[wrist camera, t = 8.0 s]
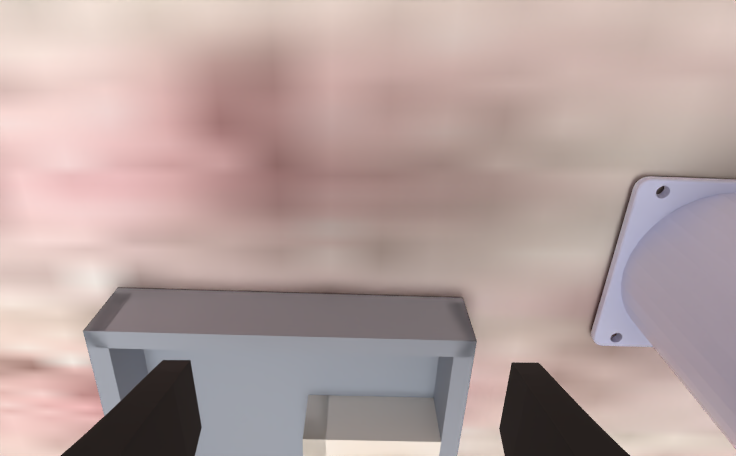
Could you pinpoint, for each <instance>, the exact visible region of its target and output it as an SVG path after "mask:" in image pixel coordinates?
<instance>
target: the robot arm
mask: <svg viewBox="0 0 736 456" xmlns="http://www.w3.org/2000/svg"><path fill="white" fill-rule="evenodd" d="M661 186H664V190H663V191H662V192H661V193H660V194H657V195H656V191H657V190H658V188H660V187H661ZM615 333H617V335H615V336H613V337H611V336H612V335H613V334H615ZM591 337H592V339H593V340H594V342H595V343H596V344H598V345H601V346H634V347H654V348H655V350H656V351H657V352H658V353H659V355H660V356H661V357H662V358H663V359H664V361H665V362H666V363H667V364H668V366H669V367H670V368H671V369H672V371H673V372H674V373H675V374H676V376H677V377H678V378H679V379H680V381H681V382H682V383H683V384H684V386H685V387H686V388H687V389H688V390H689V392H690V393H691V394H692V395H693V397H694V398H695V399H696V400H697V402H698V403H699V404H700V405H701V407H702V408H703V409H704V410H705V412H706V413H707V414H708V415H709V417H710V418H711V419H712V420H713V421H714V423H715V424H716V425H717V426H718V428H719V429H720V430H721V431H722V433H723V434H724V435H725V436H726V438H727V439H728V440H729V441H730V443H731V444H732V445H733V446H734V448H735V449H736V179H708V178H680V177H653V176H648V177H643V178H641V179H640V180H638V181H637V182H636V183H635V185H634V187H633V190H632V194H631V197H630V200H629V204H628V207H627V211H626V214H625V218H624V221H623V224H622V228H621V231H620V235H619V238H618V242H617V245H616V249H615V252H614V255H613V259H612V262H611V266H610V269H609V273H608V276H607V279H606V283H605V286H604V290H603V293H602V297H601V300H600V303H599V307H598V310H597V314H596V317H595V321H594V324H593V327H592V331H591ZM201 428H202V426H201V420H200V414H199V408H198V402H197V396H196V390H195V384H194V378H193V372H192V366H191V360H162V361H161V362H160V363H159V364H158V365H157V366H156V367H155V368H154V369H153V370H152V371H151V372H150V373H149V374H148V375H147V376H146V377H145V378H143V379H142V380H141V381H140V382H139V383H138V384H137V385H136V386H135V387H134V388H133V389H132V390H131V391H130V392H129V393H128V394H127V395H126V396H125V397H124V398H123V399H122V400H121V401H120V402H119V403H118V404H117V405H116V406H115V407H114V408H113V409H112V410H110V411H109V412H108V413H107V414H106V415H105V416H104V417H103V418H102V419H101V420H100V421H99V422H98V423H97V424H96V425H94V426H93V427H92V428H91V429H90V430H89V431H88V432H87V433H86V434H85V435H84V436H83V437H81V438H80V439H79V440H78V441H77V442H76V443H75V444H74V445H72V446H71V447H70V448H69V449H68V450H67V451H65V452H64V453H63V454H62V455H61V456H195V453H196V449H197V445H198V441H199V437H200V433H201ZM499 429H500V434H501V439H502V444H503V449H504V454H505V456H630V455H629V454H628V453H627V452H626V451H625V450H623V449H622V448H621V447H620V446H619V445H618V444H617V443H616V442H615V441H614V440H613V439H612V438H611V437H610V436H609V435H608V434H607V433H606V432H605V431H604V430H603V429H602V428H601V427H600V426H599V425H598V424H597V423H596V422H595V421H594V420H593V419H592V418H591V417H590V416H589V415H588V414H587V413H586V412H585V411H584V410H583V409H582V408H581V407H580V406H579V405H578V404H577V403H576V402H575V401H574V400H573V399H572V397H571V396H570V395H569V394H568V393H567V392H566V391H565V390H564V389H563V388H562V387H561V386H560V385H559V384H558V383H557V382H556V381H555V379H554V378H553V377H552V376H551V375H550V374H549V373H548V372H547V371H546V370H545V369H544V368H543V367H542V366H541V365H540V364H539V363H512V365H511V370H510V375H509V381H508V386H507V391H506V397H505V402H504V407H503V412H502V418H501V423H500V428H499Z"/></svg>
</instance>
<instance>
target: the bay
mask: <svg viewBox="0 0 736 456" xmlns="http://www.w3.org/2000/svg"><path fill="white" fill-rule="evenodd" d="M83 333H84V337H85V340H86V344H87V348H88V352H89V356H90V360H91V364H92V368H93V372H94V376H95V380H96V384H97V388H98V392H99V396H100V400H101V404H102V408H103V412H104V416H105V415H106V414H107V413H108V412H109V411H110V410H112V409H113V408H114V407H115V406H116V405H117V404H118V403H119V402H120V401H121V400H122V399H123V398H124V397H125V396H126V395H127V394H128V393H129V392H130V391H131V390H132V389H133V388H134V387H135V386H136V385H137V384H138V383H139V382H140V381H141V380H142V379H143V378H145V377H146V376H147V375H148V374H149V373H150V372H151V371H152V370H153V369H154V368H155V367H156V366H157V365H158V364H159V363H160V362H161V361H162V360H191V366H192V372H193V378H194V384H195V390H196V396H197V402H198V408H199V414H200V420H201V426H202V428H201V433H200V437H199V441H198V445H197V449H196V453H195V456H457V454H458V448H459V442H460V436H461V430H462V425H463V419H464V413H465V407H466V401H467V395H468V389H469V383H470V377H471V372H472V366H473V360H474V354H475V348H476V342H477V341H476V338H475V334H474V331H473V328H472V325H471V322H470V319H469V316H468V313H467V310H466V307H465V304H464V300H463V298H457V297H421V296H386V295H351V294H316V293H281V292H246V291H211V290H176V289H141V288H117V289H116V291H115V292H114V293H113V294H112V296H111V297H110V298H109V299H108V301H107V302H106V303H105V304H104V305H103V307H102V308H101V309H100V310H99V312H98V313H97V314H96V315H95V317H94V318H93V319H92V320H91V322H90V323H89V324H88V325H87V327H86V328H85V329H84V330H83Z"/></svg>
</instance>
